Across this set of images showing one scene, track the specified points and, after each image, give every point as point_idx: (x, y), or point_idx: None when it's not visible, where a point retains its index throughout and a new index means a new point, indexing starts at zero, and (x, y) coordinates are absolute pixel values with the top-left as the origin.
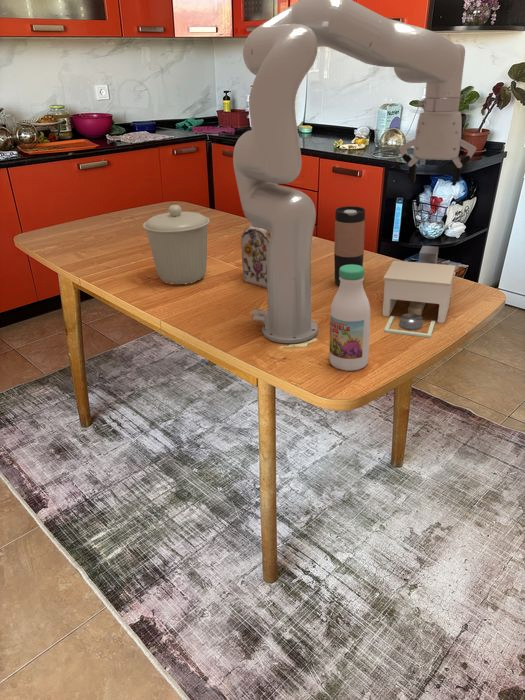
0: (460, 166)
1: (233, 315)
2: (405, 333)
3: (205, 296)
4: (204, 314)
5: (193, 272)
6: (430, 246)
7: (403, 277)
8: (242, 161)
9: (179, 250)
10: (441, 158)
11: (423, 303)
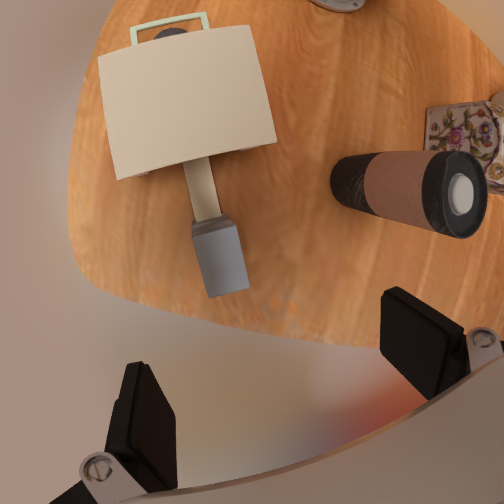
0: (94, 464)
1: (410, 20)
2: (170, 18)
3: (463, 71)
4: (432, 21)
5: (498, 102)
6: (229, 290)
7: (207, 40)
8: None
9: None
10: (260, 480)
11: None
